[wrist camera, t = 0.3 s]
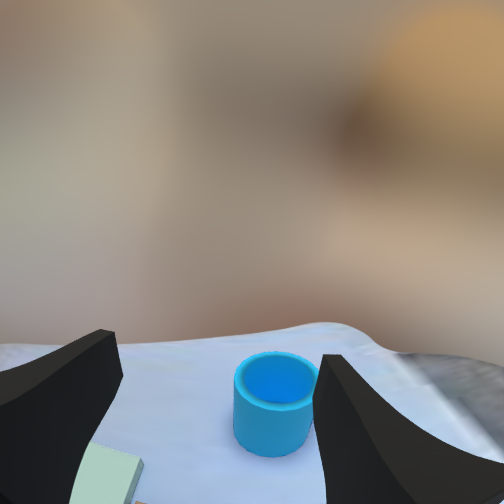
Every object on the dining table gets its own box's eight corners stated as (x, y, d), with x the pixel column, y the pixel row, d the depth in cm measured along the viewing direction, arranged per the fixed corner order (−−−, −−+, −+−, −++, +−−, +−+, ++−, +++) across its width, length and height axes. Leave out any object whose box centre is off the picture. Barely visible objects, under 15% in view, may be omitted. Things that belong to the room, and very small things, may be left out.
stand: (116, 543, 12) (110, 539, 12) (28, 499, 12) (20, 493, 12) (143, 464, 21) (140, 457, 21) (63, 436, 22) (58, 428, 21)
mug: (245, 465, 23) (249, 420, 20) (225, 409, 30) (224, 358, 28) (349, 433, 27) (371, 384, 24) (317, 389, 34) (330, 339, 31)
